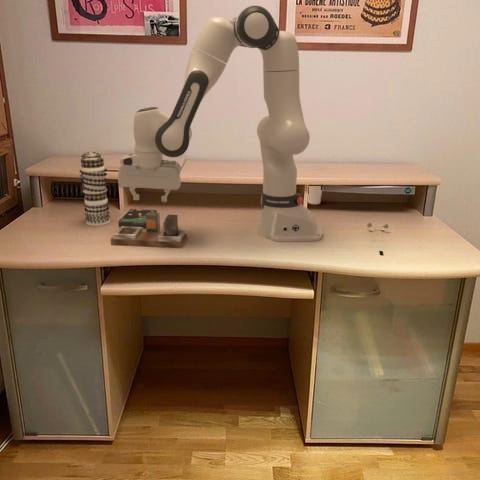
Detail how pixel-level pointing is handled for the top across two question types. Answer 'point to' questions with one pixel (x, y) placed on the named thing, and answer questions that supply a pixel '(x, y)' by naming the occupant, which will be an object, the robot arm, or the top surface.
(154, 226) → the grey orange block
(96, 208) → the decorative candle
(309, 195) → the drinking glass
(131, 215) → the disk drive
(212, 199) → the top surface
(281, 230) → the robot arm
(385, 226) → the diorama
